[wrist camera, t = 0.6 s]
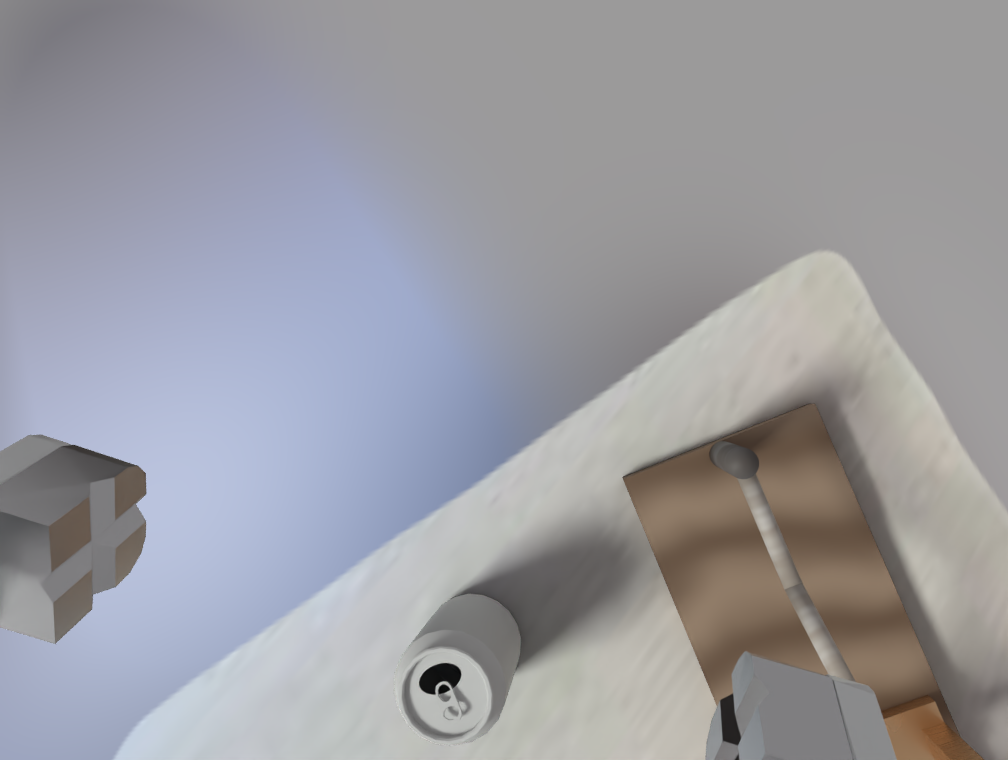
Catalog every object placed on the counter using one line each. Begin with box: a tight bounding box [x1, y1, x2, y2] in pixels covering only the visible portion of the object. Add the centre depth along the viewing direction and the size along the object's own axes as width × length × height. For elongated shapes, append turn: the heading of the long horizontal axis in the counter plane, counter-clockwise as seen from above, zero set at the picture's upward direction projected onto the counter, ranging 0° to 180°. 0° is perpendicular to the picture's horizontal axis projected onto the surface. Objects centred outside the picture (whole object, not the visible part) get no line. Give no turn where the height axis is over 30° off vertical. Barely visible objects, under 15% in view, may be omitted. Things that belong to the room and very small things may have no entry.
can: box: [394, 594, 521, 746], centre depth 54 cm, size 8×8×12 cm
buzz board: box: [623, 404, 961, 738], centre depth 51 cm, size 31×15×13 cm, turn 22°
